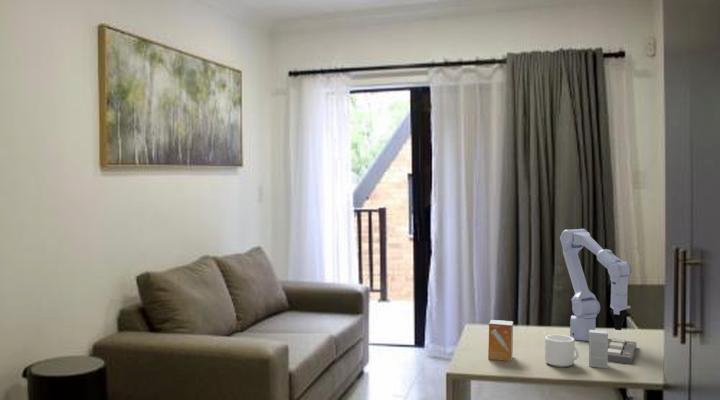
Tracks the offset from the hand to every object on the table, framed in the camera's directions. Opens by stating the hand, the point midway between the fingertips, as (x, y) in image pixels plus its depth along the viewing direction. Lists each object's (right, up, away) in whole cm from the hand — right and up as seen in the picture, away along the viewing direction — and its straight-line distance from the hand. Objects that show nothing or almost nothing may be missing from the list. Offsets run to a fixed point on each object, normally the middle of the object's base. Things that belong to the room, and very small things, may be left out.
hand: (618, 329), depth 240 cm
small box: (-47, -8, -12) cm, 49 cm away
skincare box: (-15, -9, -20) cm, 27 cm away
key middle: (-3, -8, -5) cm, 10 cm away
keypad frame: (-3, -8, -5) cm, 10 cm away
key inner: (0, -7, +1) cm, 7 cm away
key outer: (-6, -9, -11) cm, 16 cm away
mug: (-27, -8, -19) cm, 34 cm away
